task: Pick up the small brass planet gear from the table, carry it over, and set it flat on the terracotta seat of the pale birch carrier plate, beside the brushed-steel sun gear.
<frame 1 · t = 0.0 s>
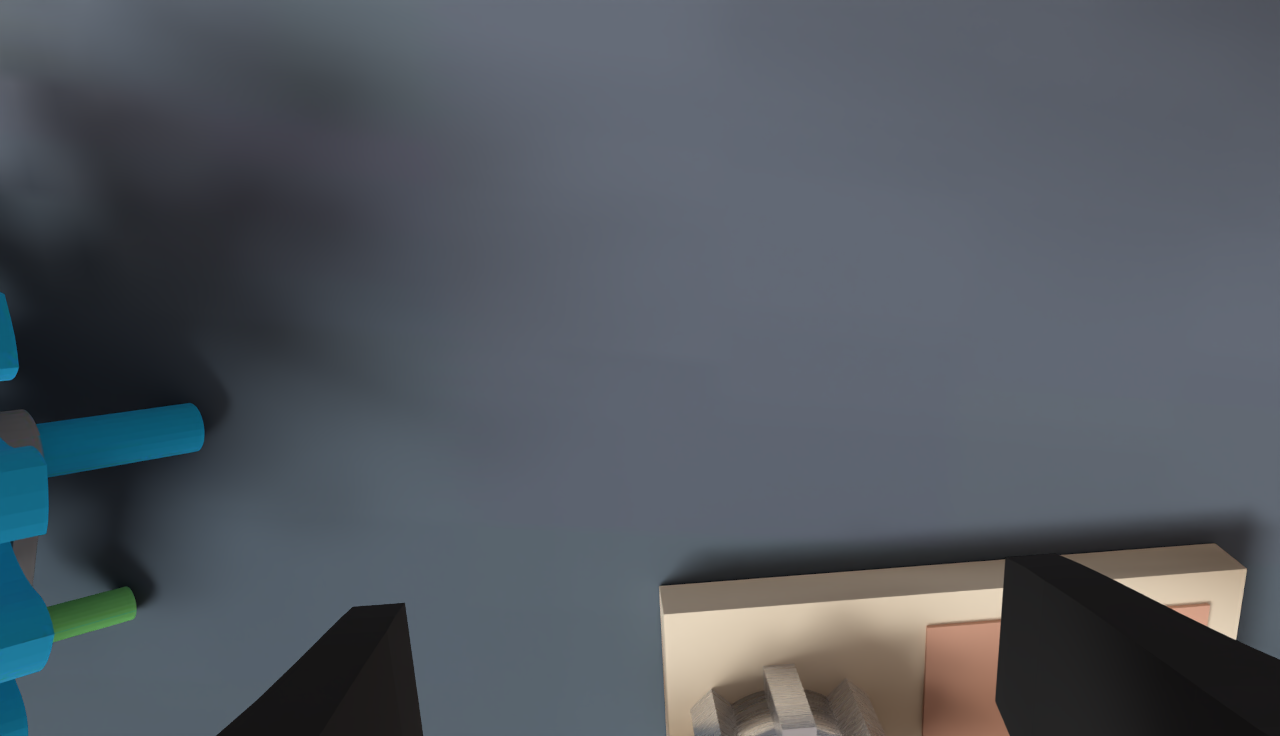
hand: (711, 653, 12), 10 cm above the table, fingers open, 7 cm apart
sun gear: (769, 724, 25), resting on carrier plate
gear: (29, 415, 22), on the table
carrier plate: (933, 710, 25), on the table
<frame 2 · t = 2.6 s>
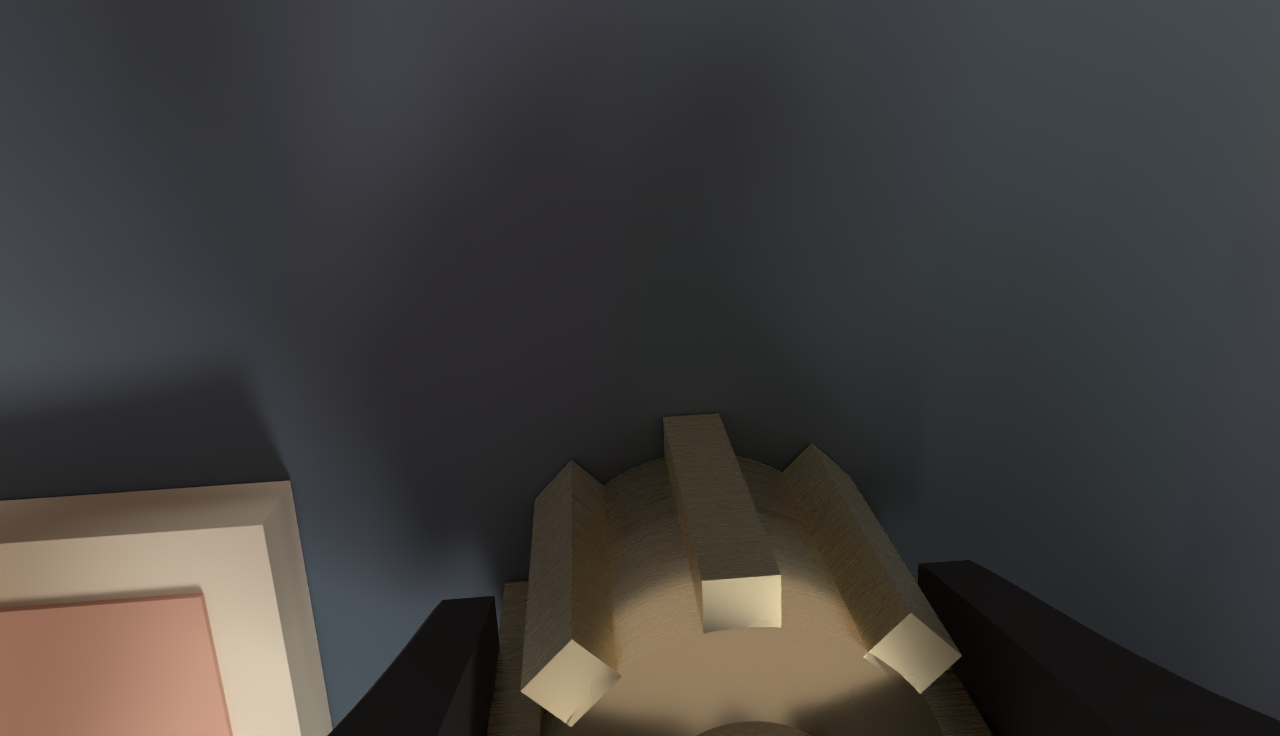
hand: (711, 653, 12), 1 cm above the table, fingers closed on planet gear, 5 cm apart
planet gear: (697, 591, 14), on the table, touching gripper
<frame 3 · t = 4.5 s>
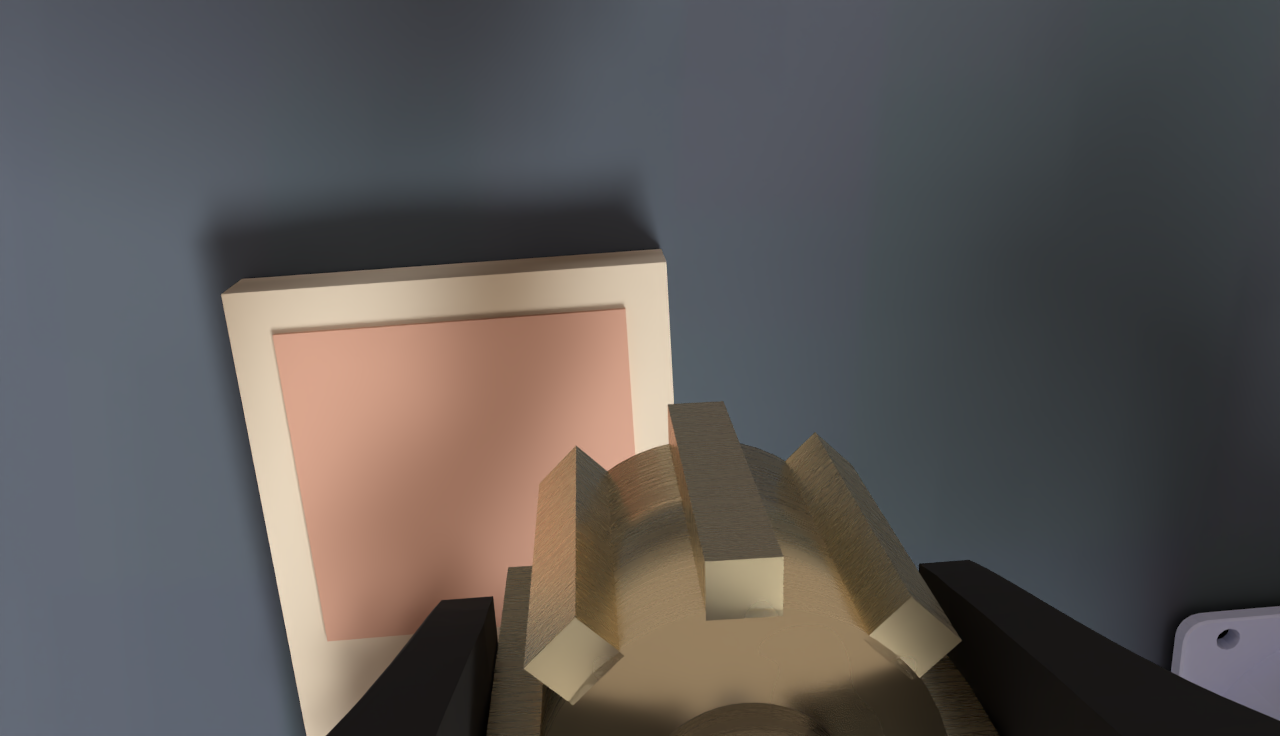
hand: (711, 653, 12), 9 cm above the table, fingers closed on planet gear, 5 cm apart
carrier plate: (489, 565, 22), on the table
planet gear: (698, 579, 14), point 7 cm above the table, touching gripper
when the fingers open (4 cm above the table, at t = 6.5 s): planet gear drops 1 cm, resting on carrier plate.
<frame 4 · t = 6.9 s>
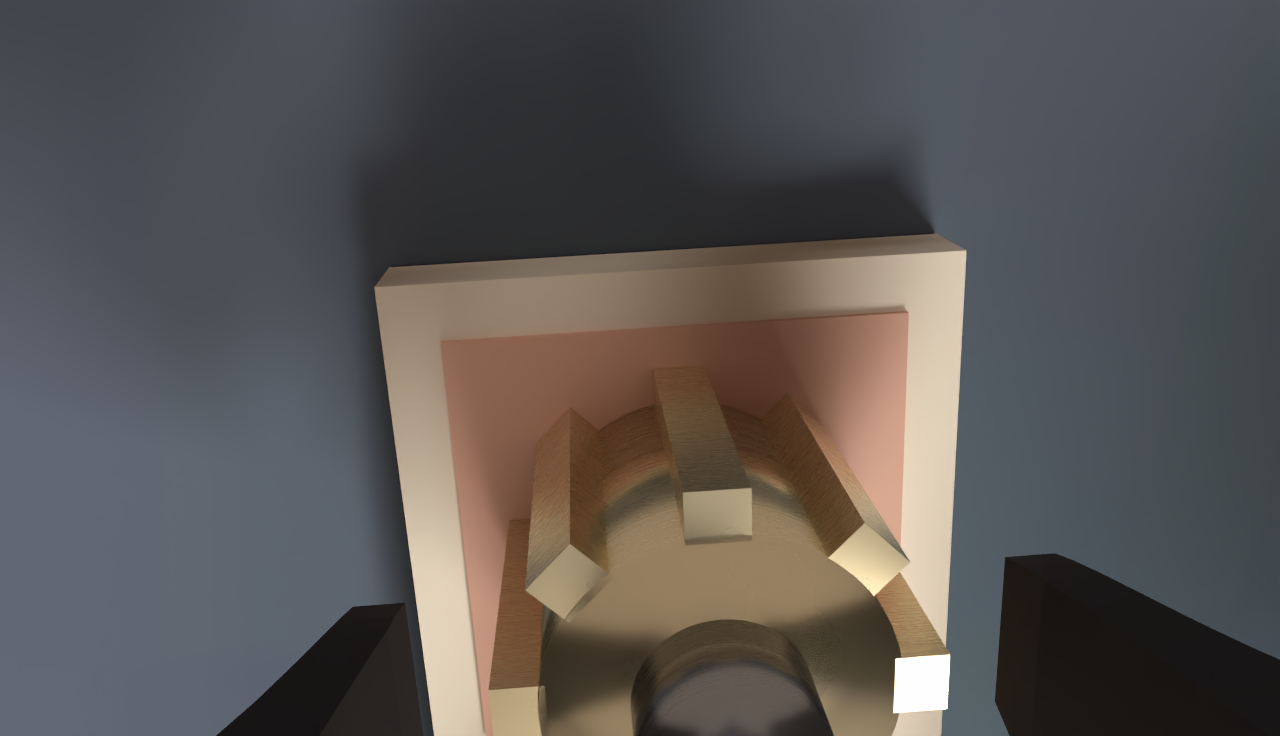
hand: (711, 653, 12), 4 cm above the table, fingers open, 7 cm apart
carrier plate: (682, 636, 17), on the table
planet gear: (683, 529, 15), point 1 cm above the table, touching carrier plate
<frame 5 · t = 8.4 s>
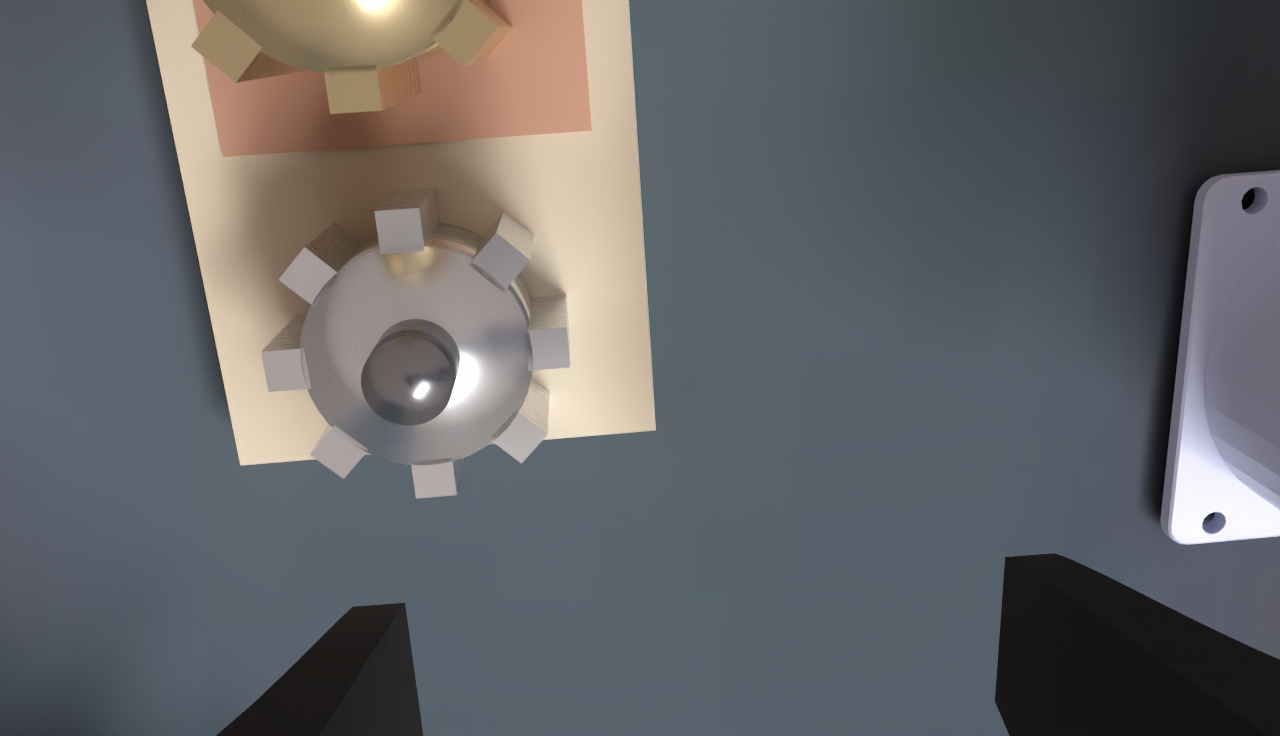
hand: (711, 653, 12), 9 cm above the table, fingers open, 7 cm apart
sun gear: (441, 307, 20), resting on carrier plate
carrier plate: (414, 97, 19), on the table
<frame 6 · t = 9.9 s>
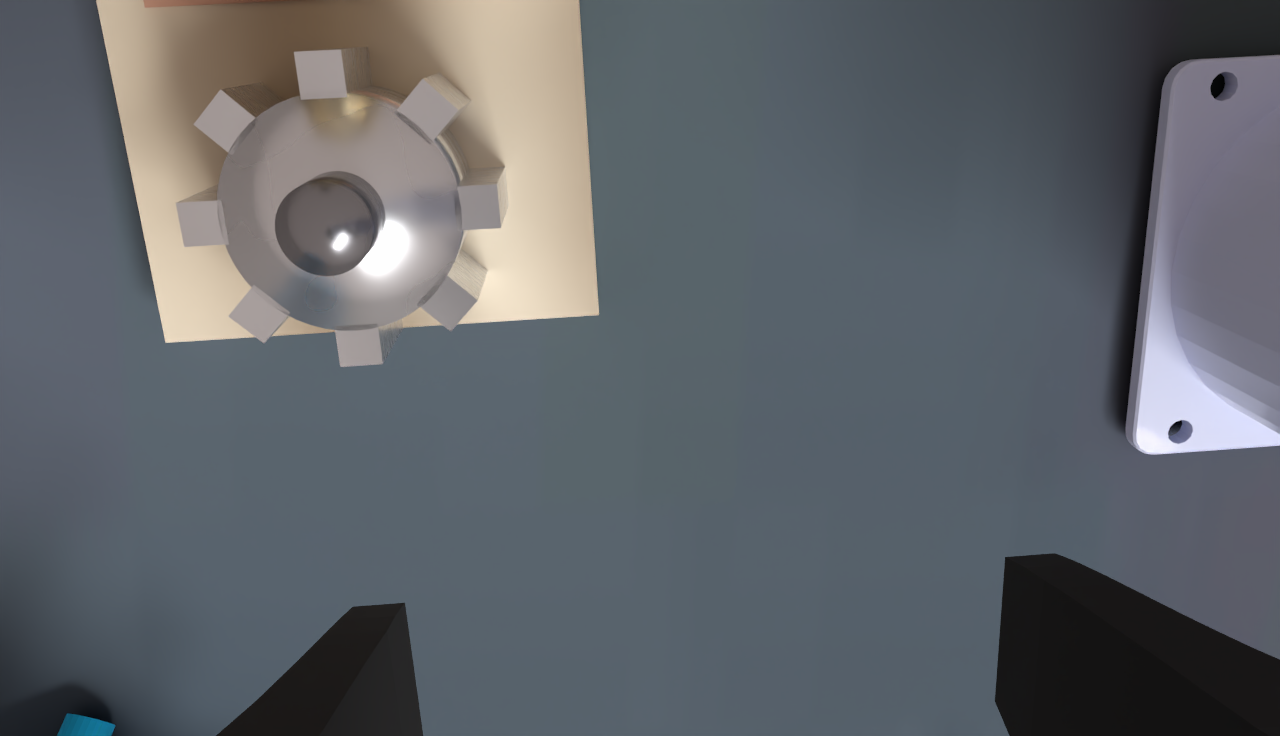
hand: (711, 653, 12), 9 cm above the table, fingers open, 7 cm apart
sun gear: (378, 184, 20), resting on carrier plate
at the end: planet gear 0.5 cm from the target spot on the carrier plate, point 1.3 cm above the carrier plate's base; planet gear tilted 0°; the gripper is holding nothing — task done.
